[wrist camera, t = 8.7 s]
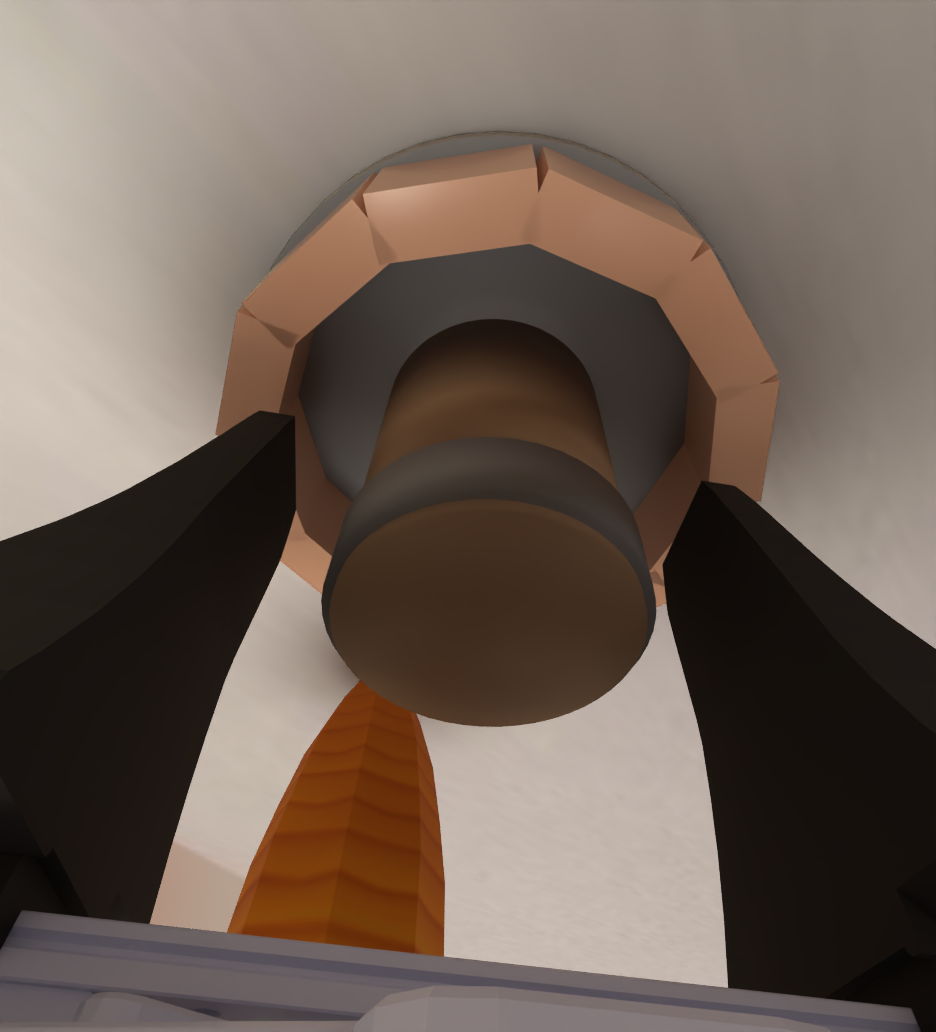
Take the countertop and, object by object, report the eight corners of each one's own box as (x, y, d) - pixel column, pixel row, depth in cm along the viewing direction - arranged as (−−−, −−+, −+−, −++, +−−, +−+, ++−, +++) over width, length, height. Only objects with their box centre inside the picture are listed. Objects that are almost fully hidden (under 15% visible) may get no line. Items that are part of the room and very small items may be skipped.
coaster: (851, 271, 12) (926, 329, 10) (590, 615, 18) (601, 698, 16) (321, 18, 10) (271, 20, 8) (224, 498, 16) (181, 574, 14)
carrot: (456, 722, 22) (399, 1553, 10) (309, 708, 22) (79, 1534, 10) (472, 623, 19) (419, 1649, 7) (302, 605, 19) (-44, 1622, 7)
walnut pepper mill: (633, 332, 12) (714, 530, 8) (573, 520, 15) (603, 748, 11) (390, 292, 12) (319, 471, 7) (375, 491, 15) (316, 712, 10)
